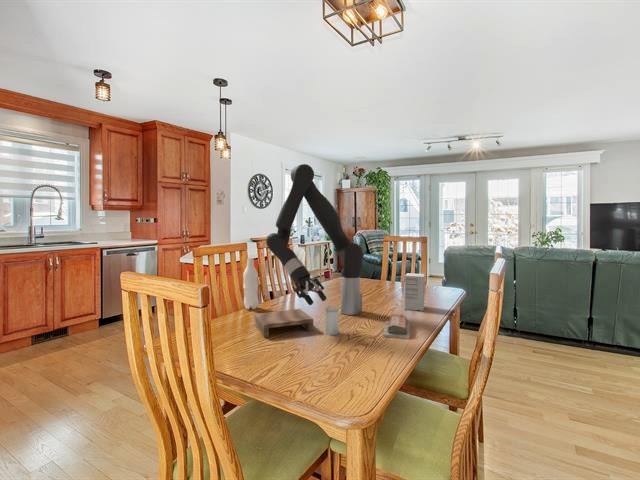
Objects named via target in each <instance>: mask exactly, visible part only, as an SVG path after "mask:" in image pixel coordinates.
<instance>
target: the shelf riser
mask: <svg viewBox="0 0 640 480" xmlns="http://www.w3.org/2000/svg"><path fill="white" fill-rule="evenodd" d="M296 325H297V326H298V325H301V327H303V328H304V329H306V330H307V331H308V332H314V318H313V317H312V316H310V315H309V314H307V313H306V312H305V311H304V310H302V309H301V308H296V309H288V310H287V309H286V310H278V311H277V310H276V311H268V312H260V313H255V314H254V326H255V327H256V329H257V330H258V332H259V331H260V332H259V333H260V334H261V336H262V337H263V338H265V339H267V338H269V337H270V334H269V333H270V332H269V330H270V329H272V328H273V329H274V328H280V327H287V326H288V327H289V326H296Z"/></svg>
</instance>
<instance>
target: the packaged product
mask: <svg viewBox="0 0 640 480" xmlns="http://www.w3.org/2000/svg"><path fill="white" fill-rule="evenodd" d="M410 331H411V322H408V320H407V316H406V315H403V314H390V317H389V320H386V321H385V325H384V329H383V333H382V336H383V337H384V338H393V339H394V338H395V339H404V340H406V339H407V340H409V339H410V336H411V335H410V334H411V332H410Z"/></svg>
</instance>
